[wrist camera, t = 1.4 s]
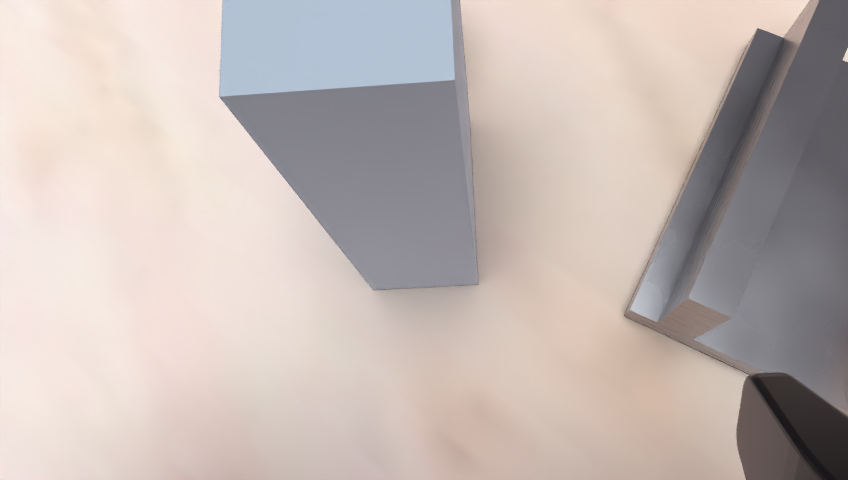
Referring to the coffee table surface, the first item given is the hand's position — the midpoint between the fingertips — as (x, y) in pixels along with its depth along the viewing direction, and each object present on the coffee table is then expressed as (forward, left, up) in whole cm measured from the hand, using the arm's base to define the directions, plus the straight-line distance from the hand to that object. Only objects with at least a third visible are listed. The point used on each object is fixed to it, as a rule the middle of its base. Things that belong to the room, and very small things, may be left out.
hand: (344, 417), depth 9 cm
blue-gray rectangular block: (+6, +3, -13) cm, 14 cm away
